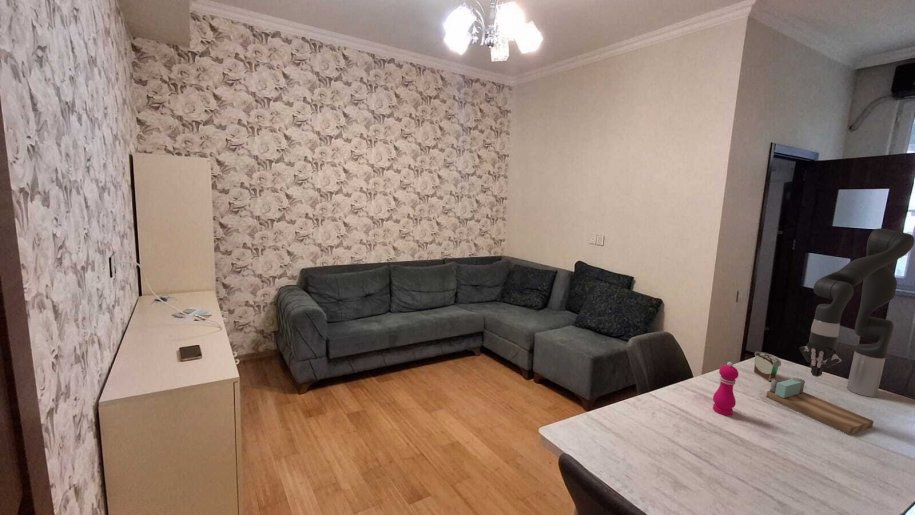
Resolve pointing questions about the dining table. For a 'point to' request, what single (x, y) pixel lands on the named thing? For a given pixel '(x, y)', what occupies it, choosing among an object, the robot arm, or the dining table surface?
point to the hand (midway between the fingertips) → (815, 375)
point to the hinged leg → (790, 387)
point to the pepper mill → (725, 390)
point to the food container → (766, 365)
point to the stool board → (822, 411)
